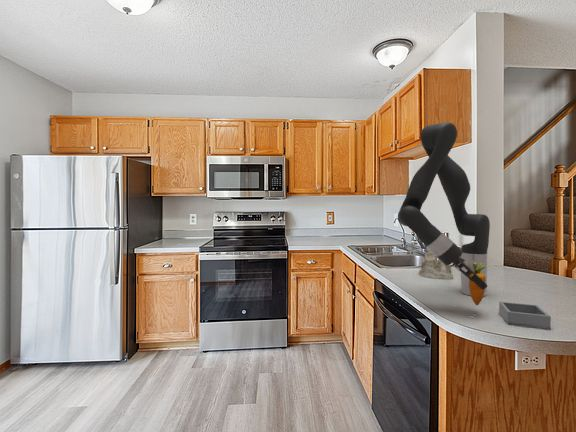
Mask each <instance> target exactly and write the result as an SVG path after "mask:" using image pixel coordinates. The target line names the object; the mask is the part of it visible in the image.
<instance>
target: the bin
mask: <svg viewBox="0 0 576 432" xmlns="http://www.w3.org/2000/svg"><path fill="white" fill-rule="evenodd" d="M498 304H499V305H498V306H499V307H498V313H499V314H500V317H501V318H502V319H503V320H504V321H505V323H506V325H509V326H510V325H511V326H517V327H524V328H525V327H527V328H533V329H541V330H543V329H544V330H549V331H550V330H551V319H552V318H551V317H552V316H551V315H550V314H548V313H547V312H546V311H545V310H544V309H543V308H541V307H540V306H539V305H538V304H528V303H520V302H519V303H518V302H510V301H509V302H507V301H499V302H498Z"/></svg>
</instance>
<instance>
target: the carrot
mask: <svg viewBox="0 0 576 432" xmlns="http://www.w3.org/2000/svg"><path fill="white" fill-rule="evenodd" d="M481 265H482V263H480V264H479V267H478V269H477V263H474V264H473V266H474V271H475V272H474V273H475V274H476V275H478V276H479V278H480V279H481V280H482V281H484V282H485V281H486V277H485V275H484V274H483V273H480V271H481V270H482V269H483V268H486V267H485V266H482V267H481ZM480 267H481V268H480ZM473 276H474V274H471V275H470V277H473ZM469 288H470V293H471V299H472V302H473V303H474V305H475V306H479V305H480V304H481V302H482V300H483V298H484V296H483V295H484V291H485V289H483V290H482V289H481V288H480V287H479V286H478V285H477V284H476V283H474V282H472V281H470V279H469Z"/></svg>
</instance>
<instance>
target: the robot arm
mask: <svg viewBox="0 0 576 432" xmlns="http://www.w3.org/2000/svg"><path fill="white" fill-rule="evenodd" d="M457 137H458V130H457V127H456V125H455V124H454V123H452V122H448V121H447V122H440V123H434V124H430V125H426V126H425V127H423V128H422V130H421V132H420V142H421V145H422V147H423V149H424V151H425V152H426V155H427V157H428V158H427V160H426V161H425V162H424V163H423V164H422V166H421V167H420V168H419V169H418V170H417V171H416V172H415V174H414V175H413V177H412V179H411V181H410V183H409V186H408V189H407V192H406V195H405V198H404V200H403V202H402V204H401V206H400V208H399V211H398V213H397V221H398V222H399V224H401V225H402V226H405V227H408V228H409V229H410V230H411V231H412V232H413V233H414V234H415V235H416V238H417V239H418V240H419V241H420V242H421V243H422V244H424V245H425V246H426V247H427V250H428V249H429V250H430V251H431V252H432V253H433V254H434V255H435V258H436V259H437V260H438V259H439V260H440V261H442V262H443V263H444V264H445V265H449V266H451V265H452V264H454V265H453V267H454V268H455V269H456V270H457V271H458V272H460V292H461V294H463V295H466V296H471V293H470V288H469V279H470V281H472V282H474V283H476V284H477V285H478V286H479V287H480V288H481V289H482V290H483V289H485V291H484V295H483V297H486V296H487V290H488V289H487V287H488V249H489V244H490V243H489V242H490V228H491V223H490V219H489V217H488V215H486V214H481V213H480V214H479V213H478V214H477V213H468V212H467V209H466V202H467V200H468V197H469V195H470V192H471V183H470V181H469V179H468V176H467V174H466V171H465V170H464V169H463V168H462V167H461V166H460V165H459V164H458V163H457V162H455V161H454V160H453V159H452V158H451V157H450V156H449V154H450V152H451V150H452V148H453V147H454V144H455V142H456V140H457ZM436 176H437V177H438V179H439V182H440V185H441V187H442V189H443V192H444V194H445V196H446V198H447V201H448V203H449V206H450V210H451V211H452V216H453V219H454V223H455V225H456V229H457V231H458V233H459V234H460V235H462V236H464V237H465V236H467V237H474V238H473V241H471V242H470V243H465V244H462V245H461V248H460V247H459V246H458V245H457V244H456V243H455V242H453V241H452V240H451V239H450V238H449V237H448V236H447V235H445V234H444V233H443V232H441V231H440V230H439V229H438V228H437V227H436V226H435V225H433V224H432V223H431V222H430V220H429V219H428V218H427V217H426V215H425V214H424V213H423V212H422V210H421V209H422V206H423V204H424V203H425V202H426V200H427V198H428V196H429V193H430V191H431V187H432V186H433V183H434V180H435V179H436ZM474 263H477V269H478V267H479V264H480V263H482V265H481V267H482V266H485V267H486V268H483V269H482V270H481V271H480V273H483V274H484V275H485V277H486V281H485V282H484V281H482V280H481V279H480V278H479V276H478V275H476V274H475V273H474V272H475V271H474V266H473V264H474ZM481 267H480V268H481ZM471 274H474V276H473V277H470V275H471Z"/></svg>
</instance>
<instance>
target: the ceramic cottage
mask: <svg viewBox="0 0 576 432" xmlns="http://www.w3.org/2000/svg"><path fill="white" fill-rule="evenodd" d="M420 264H421V267H420V269H419V271H418V275H419V276H421V277H422V278H425V279H435V280H444V281H445V280H448V281H450V280H453V279H454V276H453V273H452V266H451V265H445V264H444V263H443V262H442V261H440V260H439V259H438V258H437V257H436V256H435V255H434V254H433V253H432V252H431V251H430V250H429V249H428V248H427V253H426V252H425V253H424V256H423V257H421V263H420Z"/></svg>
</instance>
